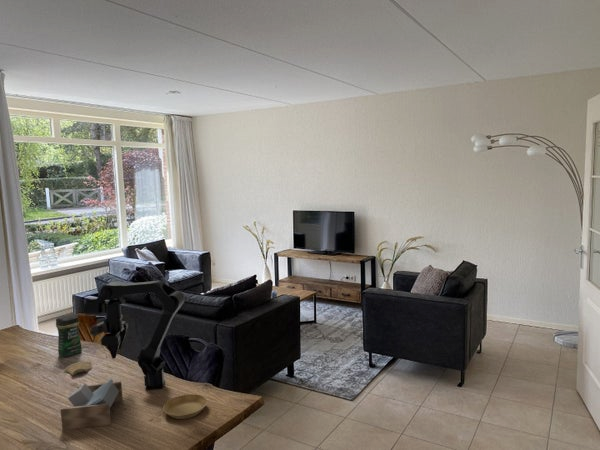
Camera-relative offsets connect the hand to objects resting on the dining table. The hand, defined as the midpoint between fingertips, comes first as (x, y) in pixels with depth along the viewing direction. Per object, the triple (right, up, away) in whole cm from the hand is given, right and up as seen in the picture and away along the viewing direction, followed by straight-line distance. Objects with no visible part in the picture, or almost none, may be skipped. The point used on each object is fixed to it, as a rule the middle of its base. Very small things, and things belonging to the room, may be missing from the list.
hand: (116, 353), depth 181 cm
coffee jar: (-36, -10, +37) cm, 53 cm away
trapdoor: (+2, -14, -20) cm, 24 cm away
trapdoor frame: (0, -15, -20) cm, 25 cm away
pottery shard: (-22, -13, +17) cm, 31 cm away
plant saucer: (+32, -15, -20) cm, 40 cm away
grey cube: (-3, -11, -21) cm, 24 cm away
